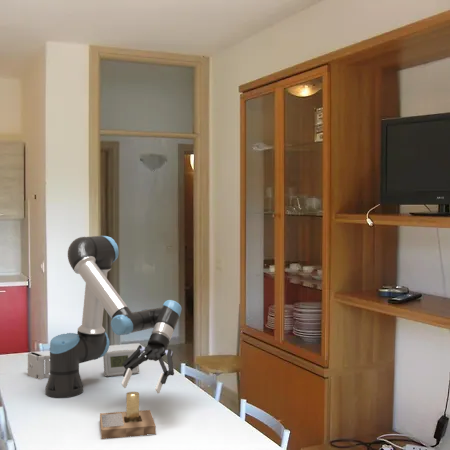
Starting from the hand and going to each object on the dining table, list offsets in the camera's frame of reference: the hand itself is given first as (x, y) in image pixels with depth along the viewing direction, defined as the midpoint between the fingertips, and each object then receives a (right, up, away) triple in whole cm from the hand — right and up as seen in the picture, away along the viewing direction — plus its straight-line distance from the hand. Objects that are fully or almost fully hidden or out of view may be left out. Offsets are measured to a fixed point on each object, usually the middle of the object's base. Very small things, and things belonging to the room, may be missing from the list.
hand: (140, 388), depth 211 cm
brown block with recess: (-4, -13, -3) cm, 14 cm away
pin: (-2, -13, -3) cm, 13 cm away
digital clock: (-18, -11, +62) cm, 65 cm away
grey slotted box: (-53, -10, +57) cm, 78 cm away
